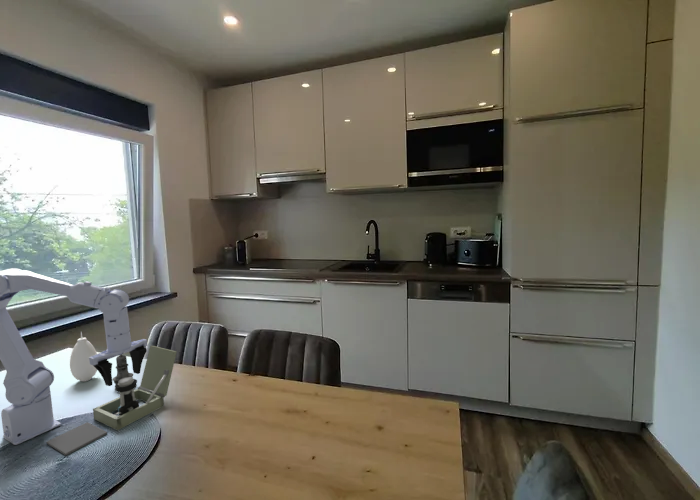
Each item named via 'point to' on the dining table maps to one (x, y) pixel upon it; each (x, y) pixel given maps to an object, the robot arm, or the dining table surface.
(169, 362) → the equipment case
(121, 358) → the grey tall tiered piece
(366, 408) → the dining table surface
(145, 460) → the dining table surface
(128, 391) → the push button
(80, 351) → the sauce bottle
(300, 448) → the dining table surface
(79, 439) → the mat
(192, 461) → the dining table surface
